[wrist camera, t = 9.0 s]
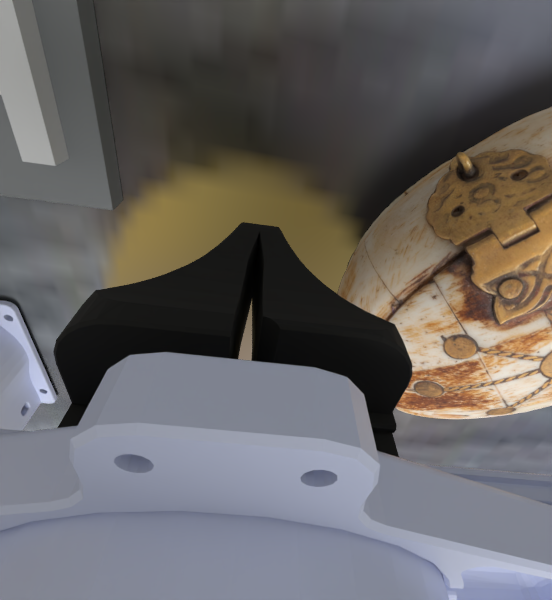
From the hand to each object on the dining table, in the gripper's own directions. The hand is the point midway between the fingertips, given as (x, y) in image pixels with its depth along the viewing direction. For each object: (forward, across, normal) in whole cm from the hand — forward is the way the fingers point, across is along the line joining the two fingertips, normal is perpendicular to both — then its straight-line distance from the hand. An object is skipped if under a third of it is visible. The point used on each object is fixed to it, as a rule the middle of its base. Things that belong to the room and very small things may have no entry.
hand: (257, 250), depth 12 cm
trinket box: (+5, -11, +1) cm, 12 cm away
